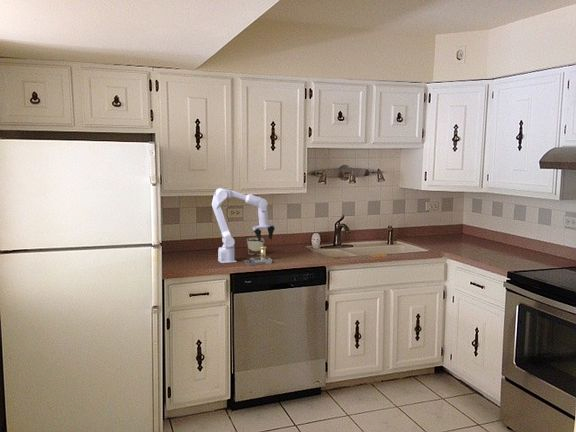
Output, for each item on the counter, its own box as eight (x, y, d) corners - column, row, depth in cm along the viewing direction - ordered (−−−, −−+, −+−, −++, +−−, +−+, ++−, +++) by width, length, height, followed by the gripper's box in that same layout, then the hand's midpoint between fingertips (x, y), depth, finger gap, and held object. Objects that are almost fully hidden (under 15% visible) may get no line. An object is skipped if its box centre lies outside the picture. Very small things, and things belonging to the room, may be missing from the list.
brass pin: (261, 260, 312) (261, 247, 311) (258, 259, 316) (258, 246, 314) (267, 260, 313) (267, 247, 312) (264, 258, 317) (264, 246, 316)
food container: (267, 253, 334) (267, 238, 332) (264, 255, 328) (264, 239, 327) (250, 252, 338) (250, 237, 337) (246, 253, 332) (246, 238, 331)
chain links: (247, 265, 299) (247, 260, 299) (243, 262, 306) (243, 257, 306) (271, 263, 305) (271, 258, 305) (267, 260, 312) (267, 255, 312)
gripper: (256, 220, 304) (258, 242, 306) (276, 216, 312) (278, 238, 314) (250, 219, 310) (252, 241, 312) (270, 215, 318) (272, 237, 320)
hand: (265, 240), depth 314 cm, fingers open, 7 cm apart
